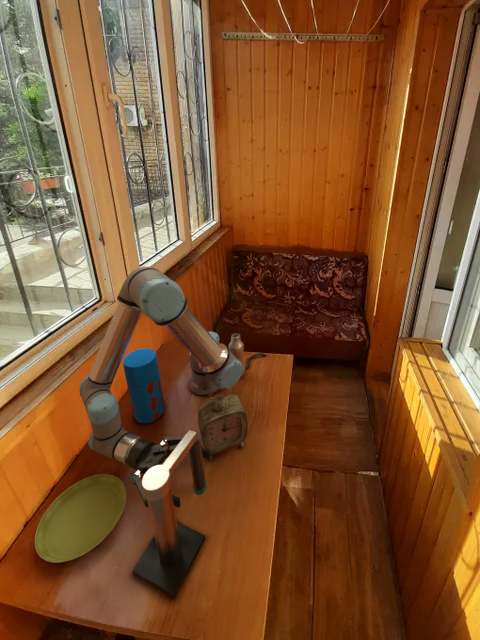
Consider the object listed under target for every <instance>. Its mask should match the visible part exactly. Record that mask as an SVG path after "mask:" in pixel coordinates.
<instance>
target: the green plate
mask: <svg viewBox="0 0 480 640" xmlns="http://www.w3.org/2000/svg"><path fill="white" fill-rule="evenodd" d="M126 502H127V489H126V486H125V483H124V482H123V481H122V479H121V478H120V477H117V476H116V475H114V474H109V473H101V474H99V473H98V474H94V475H91V476H88V477H85V478H83V479H81V480H79V481H77V482H75V483H73V485H71V486H69V487H67V488H66V489H65V490H64V491H63V492H62V493H61V494H59V495H58V496H57V497H56V498H55V499H54V500H53V501H52V502H51V504H50V505H49V506H48V507H47V509H46V510H45V512H44V513H43V515H42V516H41V518H40V520H39V523H38V525H37V527H36V529H35V534H34V548H35V551H36V553H37V555H38V556H39V558H40V559H42V560H44V561H45V562H48V563H52V564H53V563H55V564H58V563H66V562H71V561H73V560H76V559H78V558H80V557H83V556H84V555H86V554H88V553H89V552H90V551H92V550H94V549H95V548H96V547H98V546H99V545H100V544H101V543H102V542H103V541H104V540H105V539H106V538H107V537H108V536H109V534H110V533H111V532H112V531H113V529H114V528H115V527H116V525H117V524H118V522H119V520H120V518H121V517H122V514H123V512H124V509H125V507H126Z"/></svg>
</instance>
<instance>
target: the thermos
mask: <svg viewBox="0 0 480 640" xmlns="http://www.w3.org/2000/svg"><path fill="white" fill-rule="evenodd" d="M122 364H123V365H122V367H123V371H124V376H125V381H126V385H127V386H126V387H127V391H128V395H129V400H130V405H131V409H132V413H133V416H134V419H135V421H136V422H137V423H139V424H150V423H152V422H154V421H157V420H158V419H159V418H160V417H161V416H162V415H163V414H164V412H165V399H164V393H163V392H164V391H163V385H162V380H161V374H160V367H159V361H158V356H157V353H156V351H155V350H154V349H151V348H147V347H144V348H138V349H135V350H133V351H130V352H129V353H128V354H127V355H125V356H124V357H123V363H122Z"/></svg>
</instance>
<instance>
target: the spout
mask: <svg viewBox="0 0 480 640" xmlns="http://www.w3.org/2000/svg"><path fill="white" fill-rule="evenodd" d="M183 436H184V438H183V439H182V440H181V441H180V443H179V444H178V445H177V447H176V448H175V449H174V450H173V452H172V453H171V454H170V456H169V457H168V458H166V459H165V461H164V462H163V463H162V464H161V465H156V466H153V467H152V468H150V469H149V470H148V471H147V472H146V473H145V474H143V476H142V479H141V481H142V487H143V492H144V496H145V498H146V499H147V500H149V501H157V500H160V499H162V498H163V497H164V496H165V495H166V494H167V493H168V492H169V490H170V488H171V487H172V479H171V476H172V475H173V474H174V472H175V470H176V469H177V468H178V466H179V465H180V463H181V462H182V461H183V459H184V458H185V457H186V455H187V453H188V455H189V461H190V470H191V477H192V478H191V479H192V492H193V494H195V495H196V496H200V495H203V494H204V493H205V492H206V491H207V489H208V481H207V480H206V474H205V464H204V458H203V455H202V447H201V445H202V438H201V433H200V432H198V431H193V430H191V429H188V431H187V432H186V433H185V435H183ZM171 489H172V488H171Z"/></svg>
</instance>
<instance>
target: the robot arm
mask: <svg viewBox="0 0 480 640" xmlns="http://www.w3.org/2000/svg"><path fill="white" fill-rule="evenodd" d="M116 301H117V306H116V308H115V311H114V313H113V316H112V318H111V321H110V322H109V325H108V328H107V331H106V333H105V335H104V337H103V340H102V342H101V344H100V347H99V349H98V352H97V355H96V357H95V360H94V361H93V364H92V367H91V369H90V372H89V373H88V374H87V375H86V376H85V377H84V378H83V379H82V380H81V381H80V383H81V384H80V383H79V386H80V388H79V389H78V390H79V395H80V398H81V400H82V403H83V405H84V408H85V411H86V414H87V418H88V420H89V423H90V427H91V429H92V431H91V432H90V434H89V440H88V443H87V444H88V447H89V448H90V449H91V450H92V451H94V452H95V453H97V454H99V455H102V456H104V457H107V458H109V459H111V460H114V461H116V462H117V463H120V464H122V465H125V466H127V467H129V468H131V469H133V470H135V472H132V473H130V474H129V479H130V482H131V484H132V485H134V487H136V489H137V492H138V494H139V496H140V498H141V501H142V503H143V505H144V507H145V508H147V509H148V508H149V507H148V503H147V499H146V498H145V496H144V492H143V487H142V479H141V478H142V475H144V474H145V473H146V472H147V471H148V470H149V469H150V468H152V467H153V466H156V465H163V463H164V462H165V461H166V460H167V458H168V457H169V456H170V454H171V453H172V452H173V450H174V449H175V448H176V447H177V445H178V444H179V443H180V441H181V440H182V439H183V438H184V436H185V435H176V436H175V435H174V436H169V435H163V436H162V440H161V442H160V443H155V442H154V441H152V440H149V439H147V438H143V437H141V436H139V435H137V434H134V433H132V432H130V431H127V430H125V429H124V426H123V422H122V418H121V413H120V405H119V403H118V400H117V397H116V396H115V395H114V394H112V391H111V387H112V385H113V384H114V383H113V382H114V380H115V377H116V374H117V372H118V370H119V367H120V365H121V363H122V360H123V359H124V357H125V353H126V351H127V349H128V347H129V344H130V341H131V339H132V337H133V334H134V332H135V329H136V327H137V325H138V323H139V320H140V317H141V315H142V314H144V315H145V317H147V318H149V319H150V320H151V321H152V323H154V324H155V325H156V326H159V327H166V329H168V331H169V332H170V333H171V334H172V335H173V336H174V337H175V338H176V339H177V340H178V341H179V342H180V343H181V344H182V345H183V346H184V347H185V348H186V349H187V351H188V352H189V354H190V353H191V358H190V362H191V361H192V366H191V369H192V371H191V375H190V378H189V389H190V391H191V392H192V393H193V394H194V395H197V396H201V397H209V394H210V393H211V392H212V391H213V390H214V389H217V388H219V387H224V386H227V387H230V388H232V387H233V386H235V384H237V383H238V382H239V380H240V379H241V377H242V376H243V375H242V372H243V365H242V363H241V362H240V360H238V359H237V358H236V357H235V356H234V355H233V354H232V353H231V352H230V351H229V347H228V346H226V344H224V343H222V342H221V343H220V335H219V334H218V333H217V332H215V331H208V330H207V329H206V327H205V326H204V325H203V324H202V322H201V321H200V320H199V319H198V318H197V317H196V316H195V314H194V313H193V312H192V311H191V310H190V308H188V305H189V300H188V298H187V297H186V296H185V294H184V292H183V290H182V287H180V285H179V284H178V283H177V282H175V281H174V280H172V279H171V278H170V277H168V276H167V275H166V274H164V273H163V272H162V271H161V270H159V269H158V268H155V267H153V266H141V267H138V268H136V269H134V270H132V271H130V273H129V274H128V275H127V276H126V278H125V280H124V281H123V283H122V285H121V288H120V290H119V292H118V295H117V297H116ZM258 356H264V357H267V356H268V355H267V354H266V353H264V352H259V353H255V354H252V355H250V357H248V359H247V366H245V370H247V369H249V368H250V365H251V362H250V361H251V360H252V359H253V358H255V357H258ZM241 375H242V376H241ZM222 390H223V391H225V390H228V389H227V388H225V389H220V390H218V391H215V392H214V393H212V394H211V396H212V395H215V394H217V393H219V392H220V391H222ZM201 447H202V455H203V459H205V460H207V461H211V460H212V459H211V455H210V451H208V450H205V449H204V446H203V444H201ZM210 459H211V460H210ZM172 498H173V504H174V507H175V508H177V509H180V507H181V498H180V497H179V496H176V495H174V494H172Z"/></svg>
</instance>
